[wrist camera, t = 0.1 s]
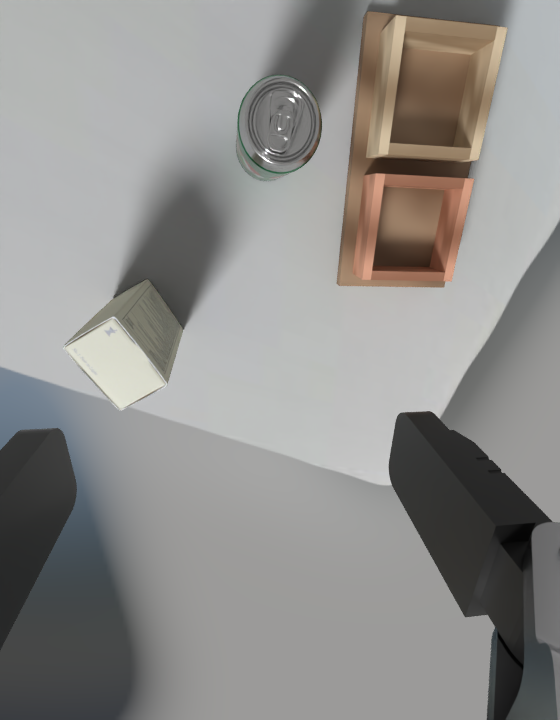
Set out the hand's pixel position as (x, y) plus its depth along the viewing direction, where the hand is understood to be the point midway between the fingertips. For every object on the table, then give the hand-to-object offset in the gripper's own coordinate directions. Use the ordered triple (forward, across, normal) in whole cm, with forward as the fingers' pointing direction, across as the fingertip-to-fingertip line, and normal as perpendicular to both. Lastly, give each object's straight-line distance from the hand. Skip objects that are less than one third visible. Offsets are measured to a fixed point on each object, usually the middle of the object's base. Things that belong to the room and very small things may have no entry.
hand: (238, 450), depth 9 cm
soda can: (+29, -3, -10) cm, 31 cm away
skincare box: (+29, +8, +5) cm, 31 cm away
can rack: (+29, -16, -8) cm, 34 cm away
